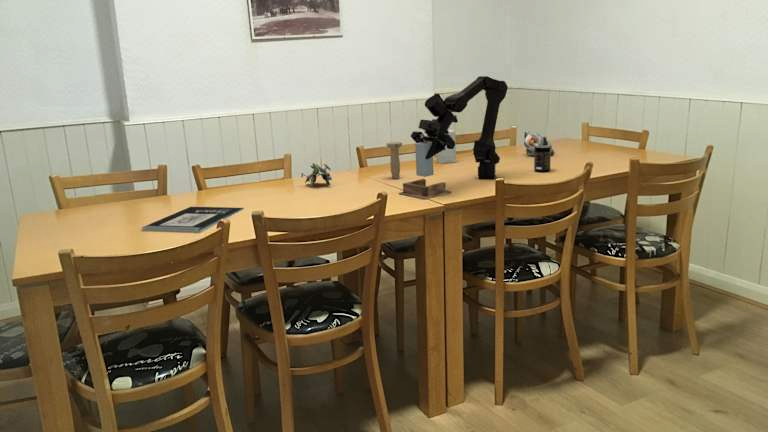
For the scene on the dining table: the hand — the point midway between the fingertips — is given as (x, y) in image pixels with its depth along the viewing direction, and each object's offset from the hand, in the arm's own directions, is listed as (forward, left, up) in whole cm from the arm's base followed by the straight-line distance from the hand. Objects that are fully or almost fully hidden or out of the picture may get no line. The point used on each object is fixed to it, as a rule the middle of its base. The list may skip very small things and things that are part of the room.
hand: (421, 158), depth 235 cm
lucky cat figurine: (-37, -84, -14) cm, 93 cm away
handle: (+18, -27, -14) cm, 35 cm away
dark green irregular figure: (+46, -10, -14) cm, 50 cm away
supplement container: (-41, -46, -14) cm, 63 cm away
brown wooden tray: (-1, -1, -13) cm, 13 cm away
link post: (-1, -1, -7) cm, 7 cm away
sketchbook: (+69, +45, -14) cm, 84 cm away
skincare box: (+4, -65, -14) cm, 66 cm away
